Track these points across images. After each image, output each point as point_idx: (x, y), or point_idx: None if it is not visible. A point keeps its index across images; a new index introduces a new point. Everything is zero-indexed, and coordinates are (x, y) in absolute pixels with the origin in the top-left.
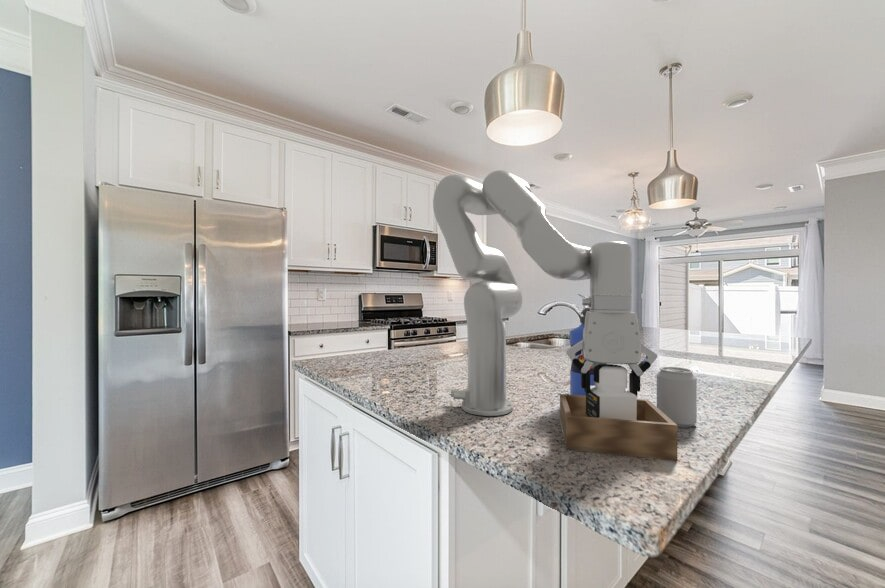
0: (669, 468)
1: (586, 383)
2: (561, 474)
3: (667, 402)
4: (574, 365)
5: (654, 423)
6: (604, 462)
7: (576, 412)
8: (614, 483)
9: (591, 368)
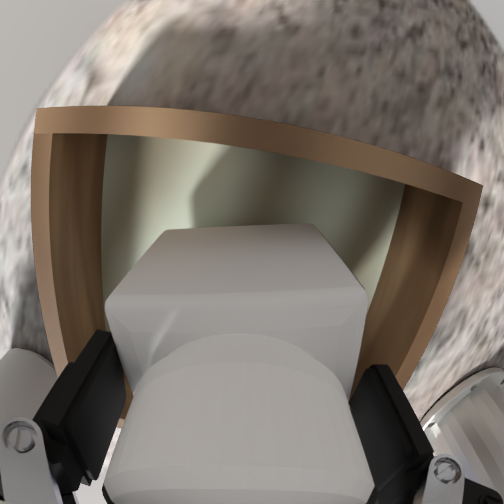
0: (150, 56)
1: (408, 403)
2: (452, 37)
3: (30, 403)
4: None
5: (113, 107)
6: (336, 79)
7: None
8: None
9: None
